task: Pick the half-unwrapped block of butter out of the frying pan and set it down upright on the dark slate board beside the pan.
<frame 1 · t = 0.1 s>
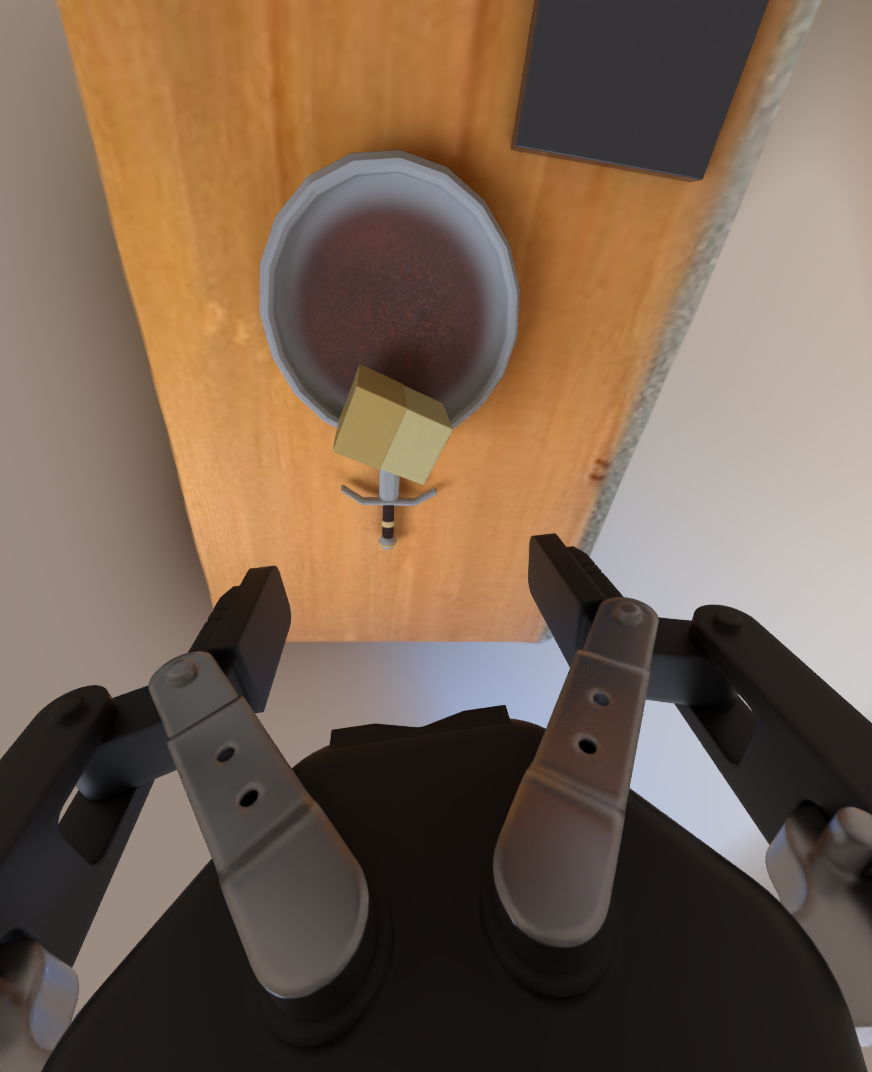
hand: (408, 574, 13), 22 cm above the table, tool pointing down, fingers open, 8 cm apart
frying pan: (391, 397, 32), on the table, touching butter
butter: (390, 412, 30), point 3 cm above the table, touching frying pan
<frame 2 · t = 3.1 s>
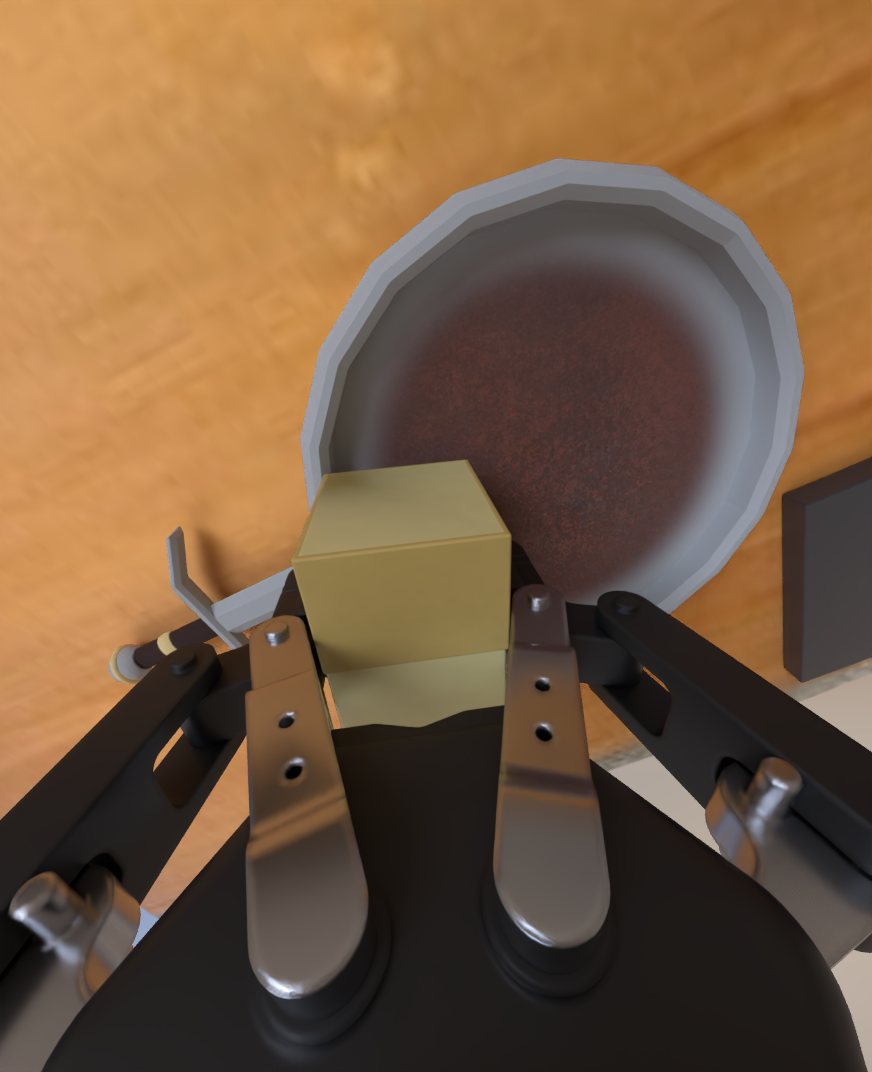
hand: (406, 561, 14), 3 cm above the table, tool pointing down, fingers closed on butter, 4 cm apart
frying pan: (410, 518, 17), on the table, touching butter
butter: (407, 554, 14), point 3 cm above the table, touching frying pan, gripper
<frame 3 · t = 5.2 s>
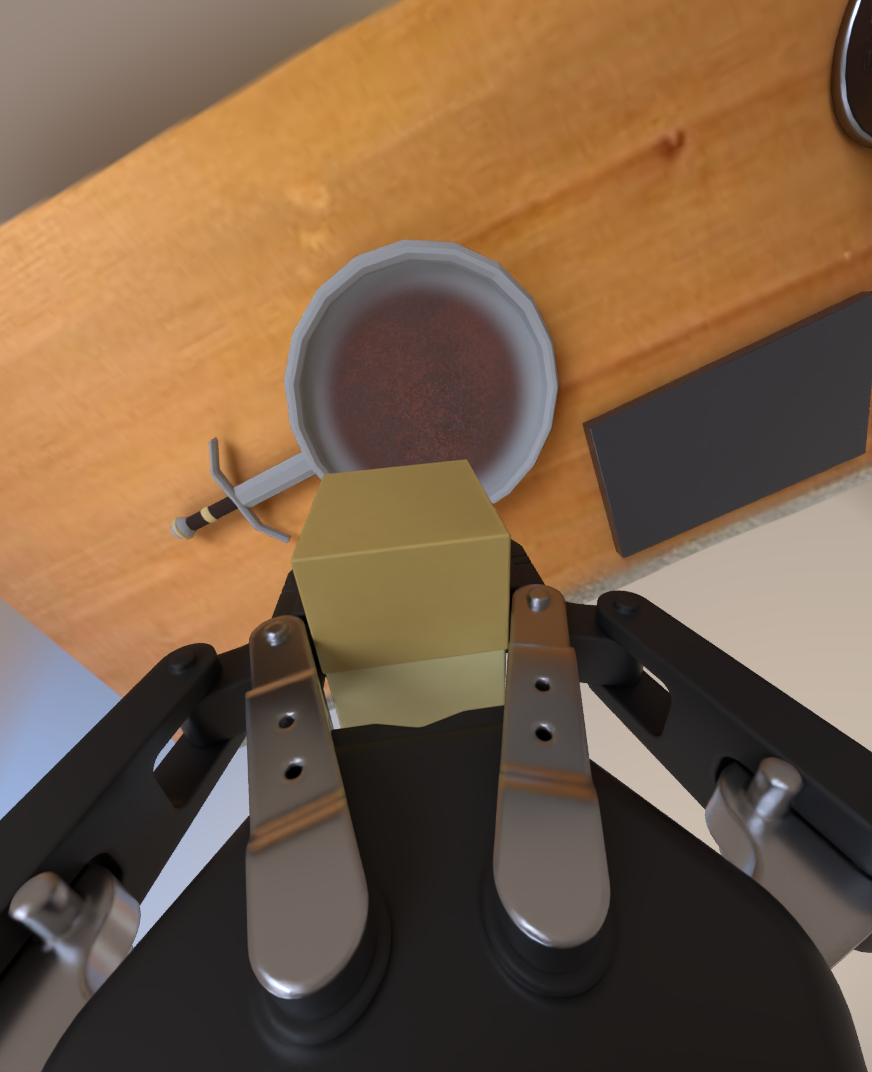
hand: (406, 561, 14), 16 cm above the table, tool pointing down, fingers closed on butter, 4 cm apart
slate board: (724, 437, 31), on the table
frying pan: (352, 436, 28), on the table
butter: (406, 554, 14), point 16 cm above the table, touching gripper
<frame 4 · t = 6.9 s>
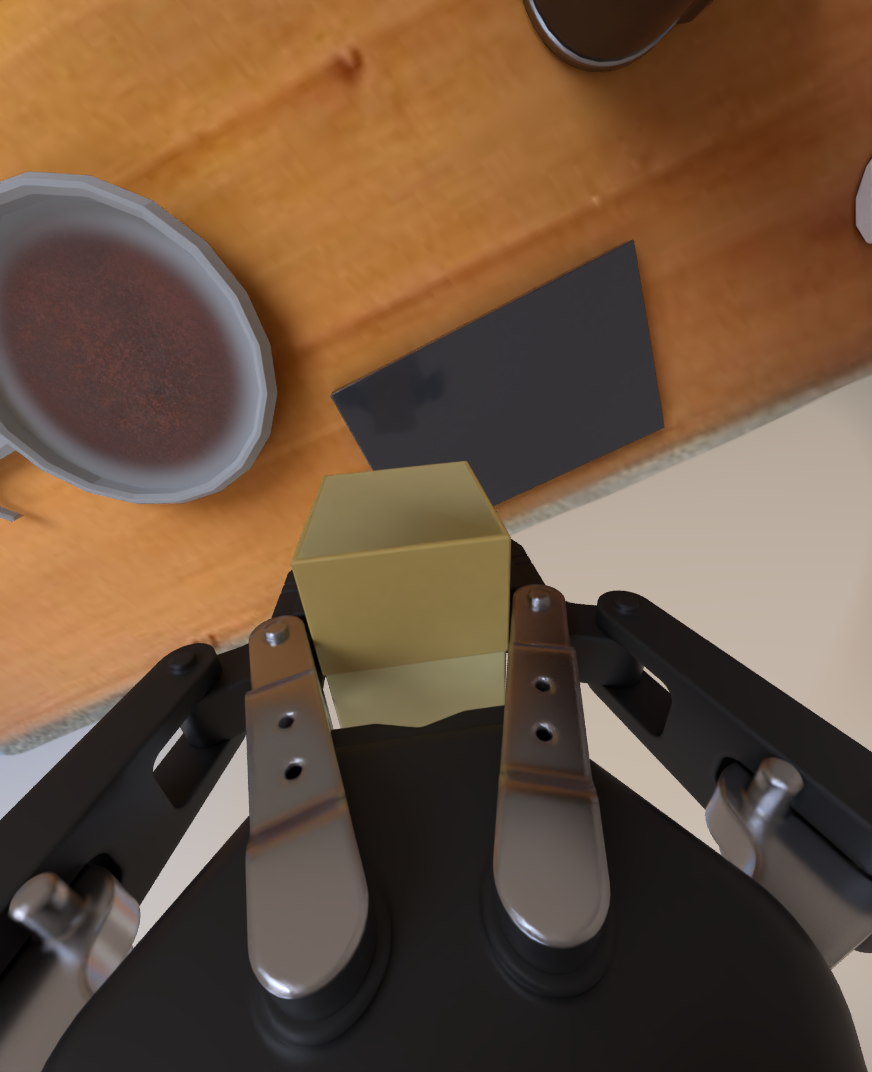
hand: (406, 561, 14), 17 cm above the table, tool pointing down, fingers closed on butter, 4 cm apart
slate board: (503, 408, 28), on the table
frying pan: (67, 404, 26), on the table
butter: (407, 556, 14), point 16 cm above the table, touching gripper
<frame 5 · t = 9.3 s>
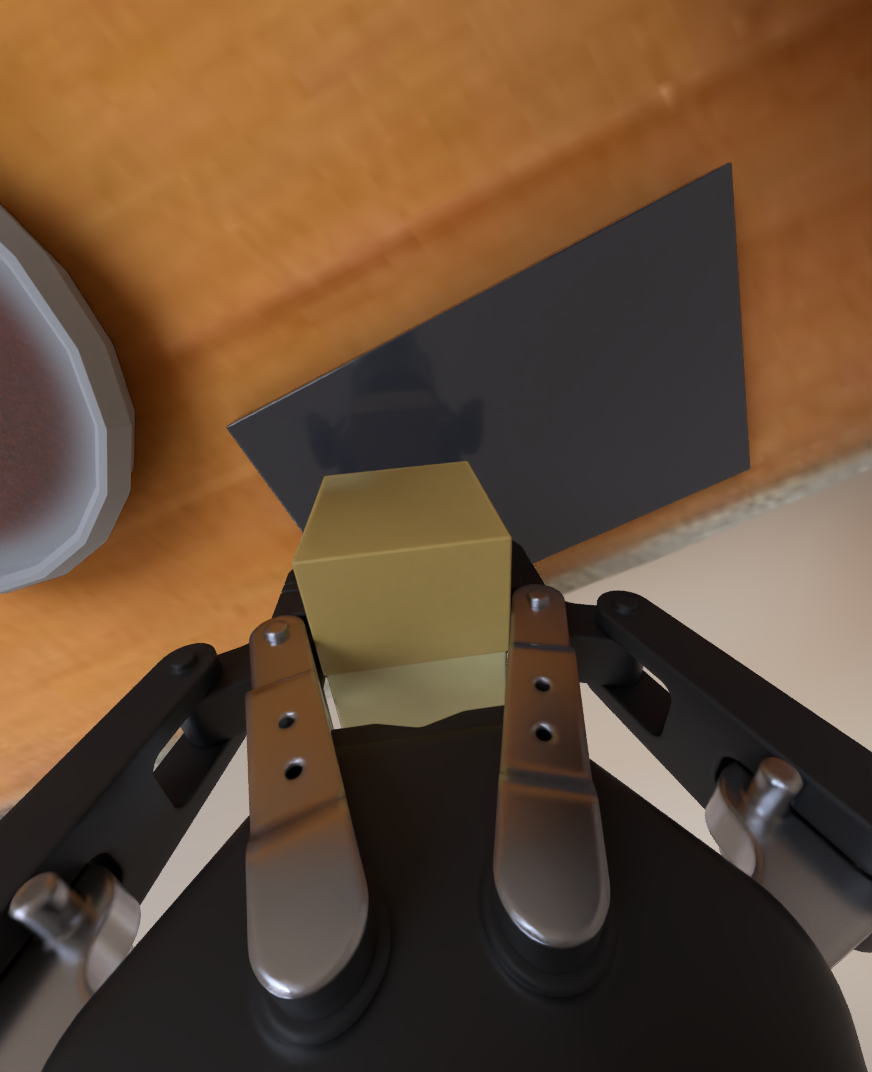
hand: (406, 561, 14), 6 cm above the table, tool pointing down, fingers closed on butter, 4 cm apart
slate board: (506, 442, 19), on the table
butter: (407, 556, 14), point 6 cm above the table, touching gripper
when the fingers open (2 cm above the table, at t = 11.0 s): butter stays where it is, resting on slate board.
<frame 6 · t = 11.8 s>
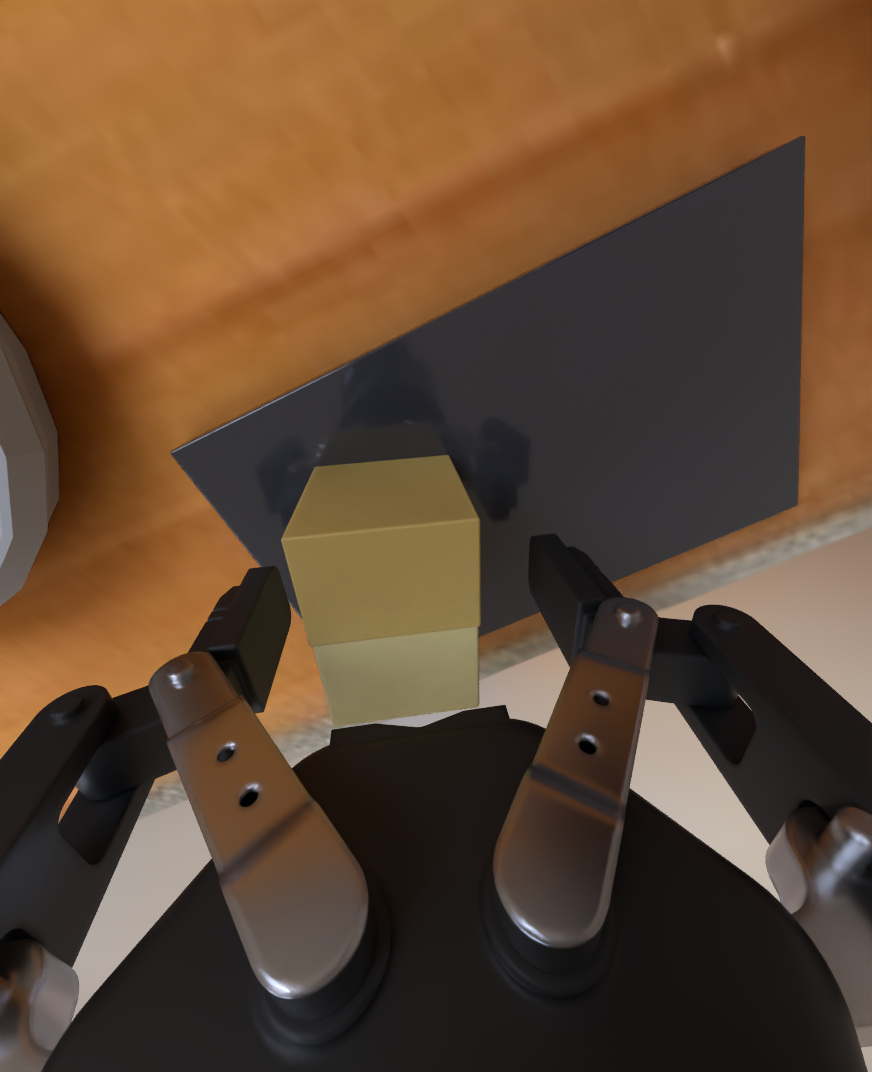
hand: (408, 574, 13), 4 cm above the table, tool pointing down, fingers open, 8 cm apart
slate board: (514, 471, 16), on the table
butter: (392, 544, 15), point 1 cm above the table, touching slate board
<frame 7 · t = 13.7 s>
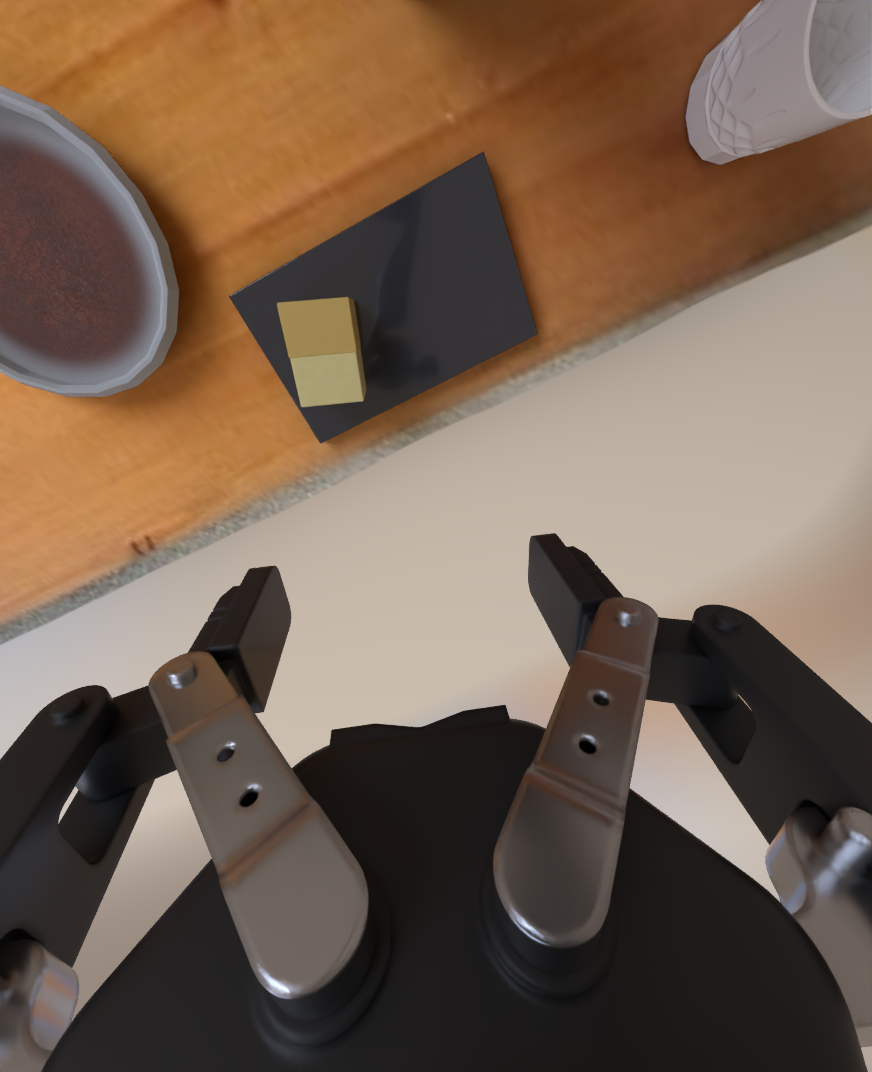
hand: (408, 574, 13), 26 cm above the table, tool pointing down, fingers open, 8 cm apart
slate board: (391, 316, 32), on the table
white cup: (729, 102, 28), on the table
butter: (331, 349, 32), point 1 cm above the table, touching slate board
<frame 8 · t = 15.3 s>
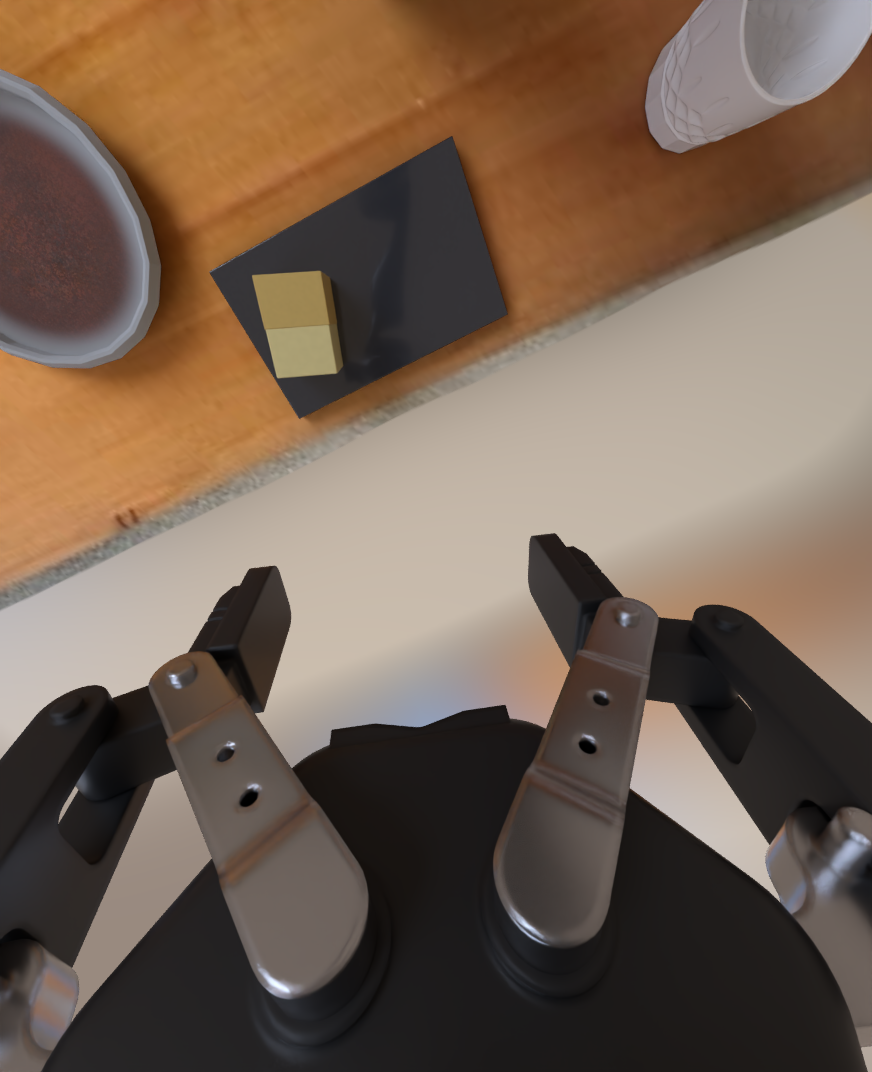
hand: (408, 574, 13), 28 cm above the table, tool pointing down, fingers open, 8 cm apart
slate board: (367, 294, 33), on the table
white cup: (687, 94, 30), on the table
butter: (309, 326, 33), point 1 cm above the table, touching slate board
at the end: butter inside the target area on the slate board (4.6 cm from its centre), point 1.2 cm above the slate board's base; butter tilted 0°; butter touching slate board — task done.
